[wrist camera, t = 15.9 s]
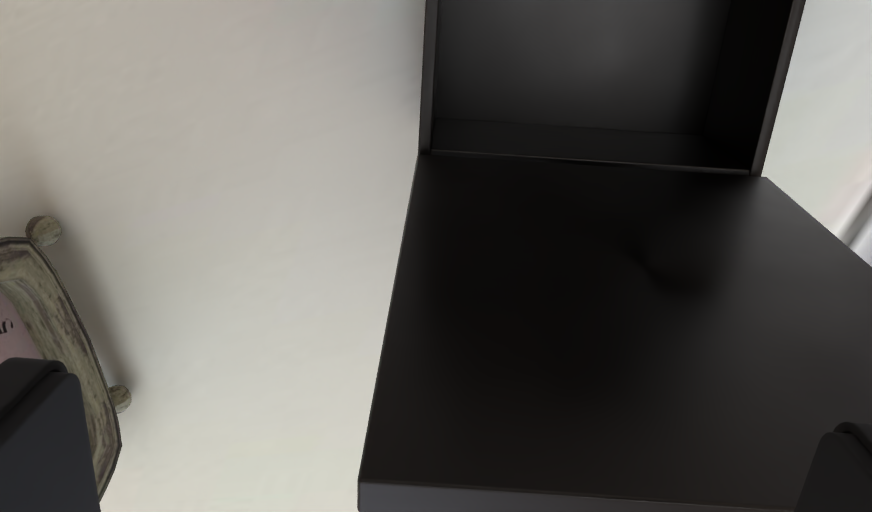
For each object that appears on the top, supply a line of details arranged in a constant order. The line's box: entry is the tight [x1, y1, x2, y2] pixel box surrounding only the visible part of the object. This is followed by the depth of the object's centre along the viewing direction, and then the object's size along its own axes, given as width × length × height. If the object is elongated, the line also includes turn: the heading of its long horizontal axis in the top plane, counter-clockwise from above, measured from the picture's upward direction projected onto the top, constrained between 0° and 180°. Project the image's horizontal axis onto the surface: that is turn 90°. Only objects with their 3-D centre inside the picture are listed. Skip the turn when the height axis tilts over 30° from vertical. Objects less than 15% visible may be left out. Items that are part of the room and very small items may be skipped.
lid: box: [357, 154, 872, 512], centre depth 21 cm, size 18×14×6 cm
